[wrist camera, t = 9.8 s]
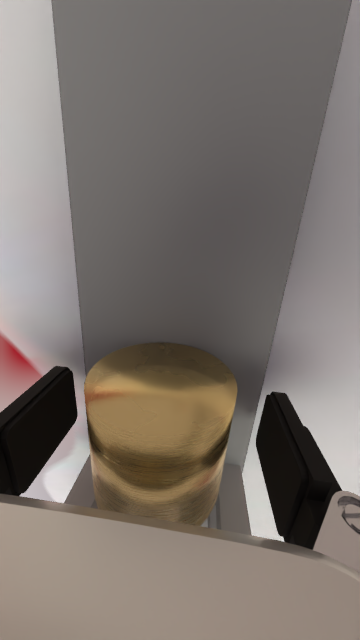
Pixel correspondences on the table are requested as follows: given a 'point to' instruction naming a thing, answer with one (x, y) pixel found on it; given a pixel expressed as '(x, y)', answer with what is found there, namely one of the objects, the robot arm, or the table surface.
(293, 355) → the table surface
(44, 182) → the table surface
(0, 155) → the table surface
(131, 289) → the grey bracket stand
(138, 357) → the gold capped glass bottle
